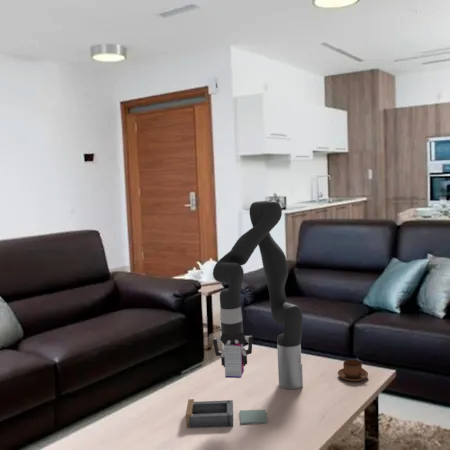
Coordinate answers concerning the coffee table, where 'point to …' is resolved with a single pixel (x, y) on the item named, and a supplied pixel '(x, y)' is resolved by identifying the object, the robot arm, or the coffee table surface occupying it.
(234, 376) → the supplement box
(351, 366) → the cup and saucer
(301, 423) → the coffee table surface
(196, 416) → the grey wooden frame
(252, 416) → the rubber pad
